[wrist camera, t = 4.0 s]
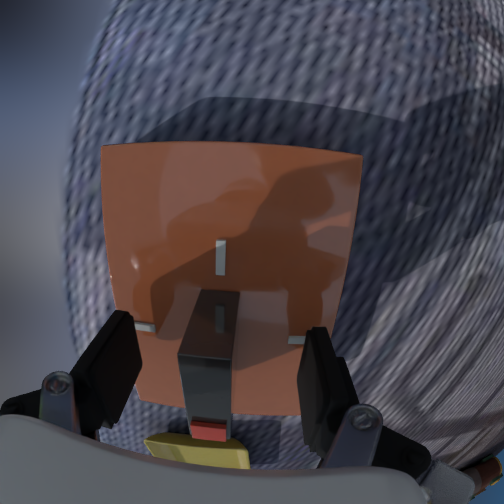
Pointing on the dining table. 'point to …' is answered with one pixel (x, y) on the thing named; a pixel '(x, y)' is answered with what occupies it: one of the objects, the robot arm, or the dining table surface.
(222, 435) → the black block red end
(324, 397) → the robot arm
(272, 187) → the panel
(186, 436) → the yellow square tray
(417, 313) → the dining table surface
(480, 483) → the book
